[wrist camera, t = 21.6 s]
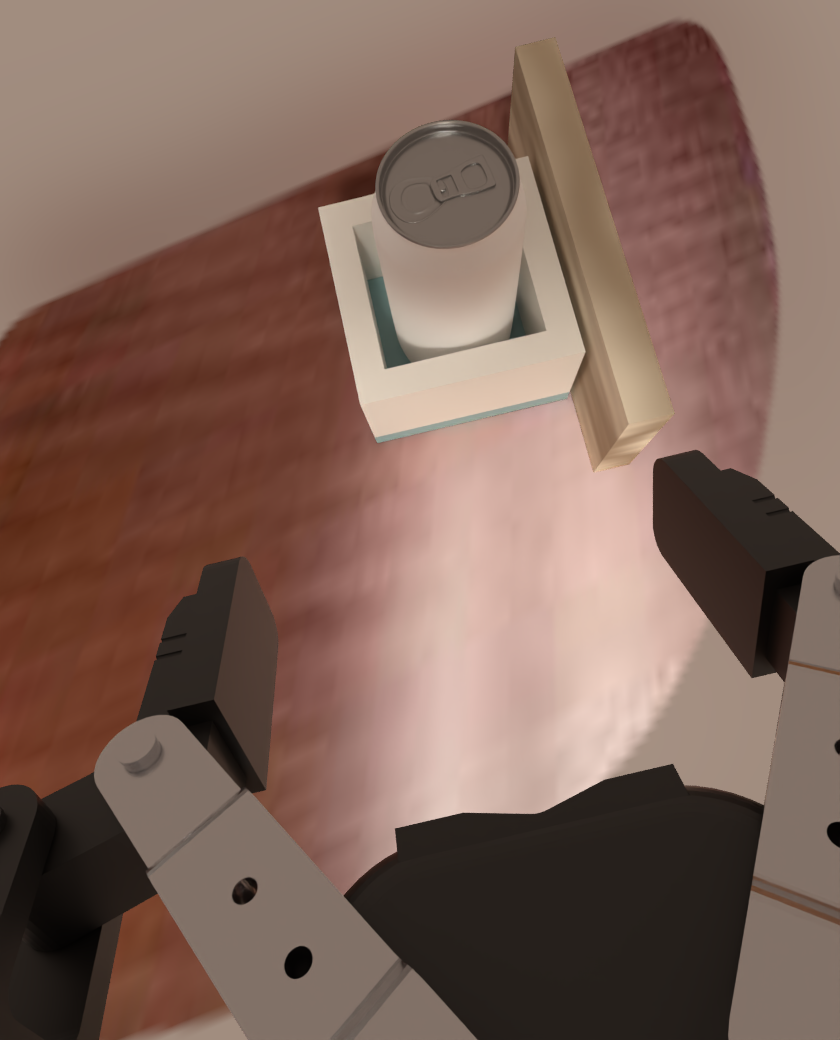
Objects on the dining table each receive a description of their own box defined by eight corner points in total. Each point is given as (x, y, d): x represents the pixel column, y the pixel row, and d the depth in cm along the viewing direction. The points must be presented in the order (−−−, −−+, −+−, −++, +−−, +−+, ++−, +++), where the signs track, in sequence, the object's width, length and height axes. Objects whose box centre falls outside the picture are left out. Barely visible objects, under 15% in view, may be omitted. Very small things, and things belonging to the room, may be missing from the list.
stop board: (593, 472, 36) (628, 424, 28) (506, 164, 40) (515, 47, 32) (629, 464, 36) (674, 413, 28) (537, 157, 40) (555, 37, 32)
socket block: (377, 443, 37) (360, 405, 31) (340, 273, 39) (318, 207, 33) (566, 398, 37) (585, 351, 31) (519, 229, 39) (528, 155, 33)
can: (381, 302, 38) (341, 145, 26) (485, 261, 38) (493, 86, 26) (420, 400, 36) (397, 282, 24) (529, 358, 36) (557, 220, 24)
